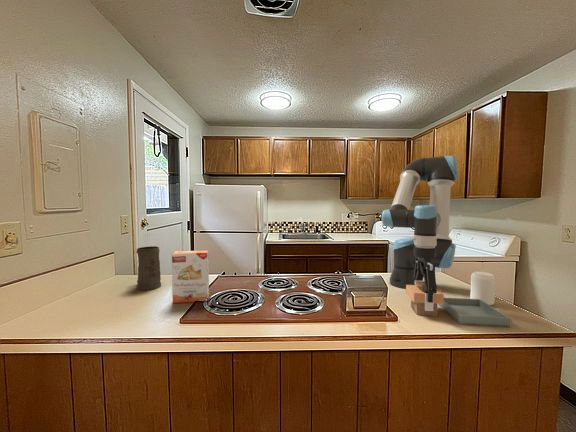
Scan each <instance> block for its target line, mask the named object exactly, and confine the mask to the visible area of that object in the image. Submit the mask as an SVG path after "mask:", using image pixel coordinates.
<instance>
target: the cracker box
mask: <svg viewBox="0 0 576 432" xmlns="http://www.w3.org/2000/svg"><path fill="white" fill-rule="evenodd" d="M209 262H210V261H209V250H176V251H173V253H172V254H171V273H172V274H171V275H172V276H171V278H172V280H171V281H172V282H171V283H172V284H171V285H172V287H171V289H172V304H180V303H182V304H183V303H196V302H195V301H197V300H203V299H207V298H208V297H210V287H209V286H210V279H209V278H210V276H209V275H210V272H209V267H210V266H209V265H210V263H209ZM208 299H209V298H208Z"/></svg>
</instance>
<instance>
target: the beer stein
mask: <svg viewBox="0 0 576 432" xmlns="http://www.w3.org/2000/svg"><path fill="white" fill-rule="evenodd" d="M136 254H137V258H138V259H137V260H138V261H137V263H138V266H137V280H136V289H137V290H139V289H140V290H139V291H149V290H150V289H151V290H155V289H158V288H160V287H161V286H162V283H161V279H162V278H161V265H160V264H161V262H160V247H159V246H156V245H155V246H142V247H138V248H137V249H136Z"/></svg>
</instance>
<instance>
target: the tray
mask: <svg viewBox="0 0 576 432" xmlns="http://www.w3.org/2000/svg"><path fill="white" fill-rule="evenodd" d="M438 306H440V307H441V309H443V310H444V311H445V312H446V313H447V314H448V315H449V316H450V317H452V319H454V320H455V321H456V322H457V323H458V324H459V325H462V326H463V325H465V326H479V327H496V328H497V327H498V328H511V322H512V321H511V319H512V318H511V317H510V316H508V315H507V314H504V313H503V312H501V311H499V310H498V309H497V308H495V307H493V306H492V305H489V304H487V303H485V302H484V301H482V300H481V299H470V298H463V297H461V298H460V297H444V304H438Z"/></svg>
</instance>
